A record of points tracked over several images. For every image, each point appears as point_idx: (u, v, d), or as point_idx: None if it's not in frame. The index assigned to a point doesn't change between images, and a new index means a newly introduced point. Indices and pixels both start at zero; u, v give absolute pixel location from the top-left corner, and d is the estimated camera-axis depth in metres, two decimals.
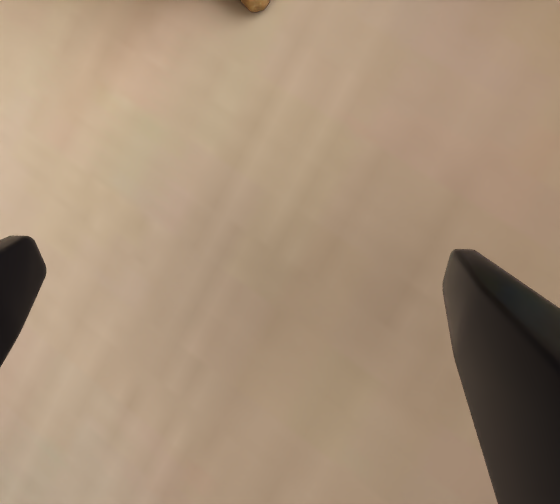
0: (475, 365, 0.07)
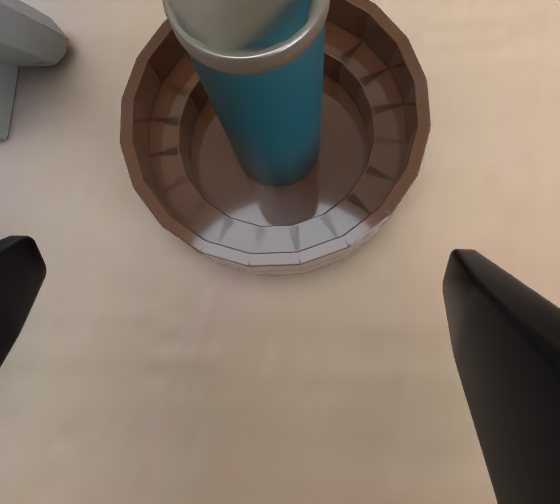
0: (475, 365, 0.07)
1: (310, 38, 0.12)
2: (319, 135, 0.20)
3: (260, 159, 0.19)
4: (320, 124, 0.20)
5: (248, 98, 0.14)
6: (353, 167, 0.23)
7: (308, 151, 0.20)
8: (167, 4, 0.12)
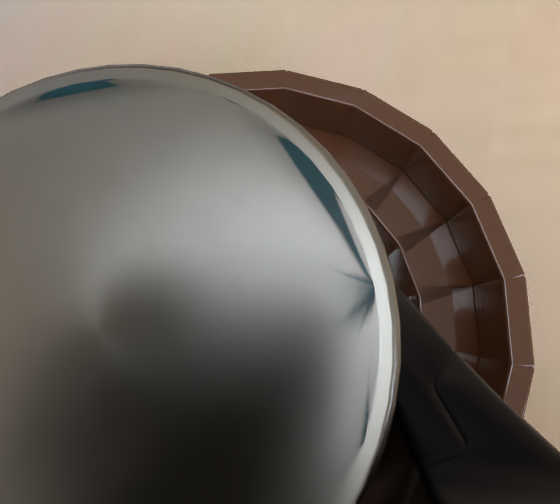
0: None
1: None
2: None
3: None
4: None
5: None
6: None
7: None
8: None
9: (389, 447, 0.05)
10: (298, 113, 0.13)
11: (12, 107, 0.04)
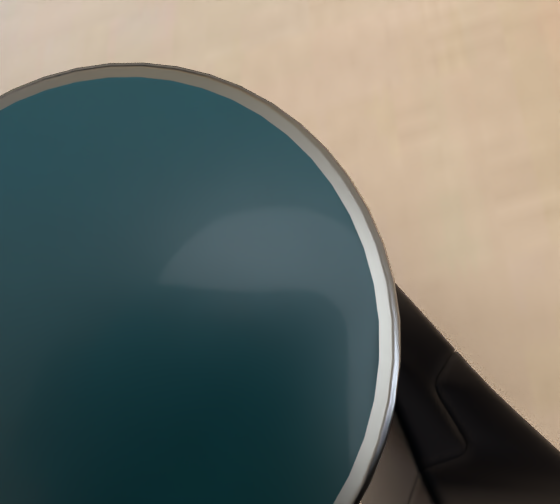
0: None
1: None
2: None
3: None
4: None
5: None
6: None
7: None
8: None
9: (389, 447, 0.05)
10: None
11: (13, 106, 0.04)
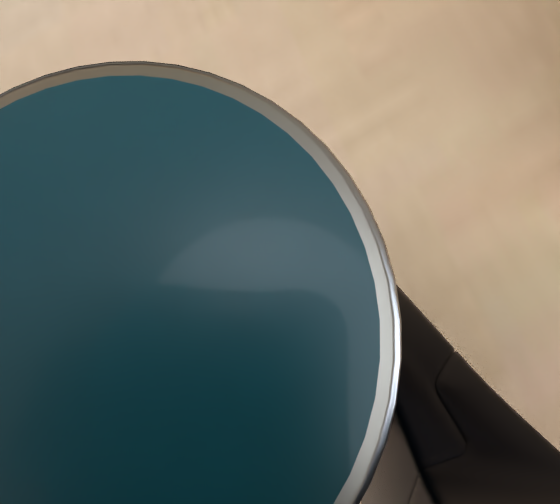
0: None
1: None
2: None
3: None
4: None
5: None
6: None
7: None
8: None
9: (389, 447, 0.05)
10: None
11: (12, 105, 0.04)
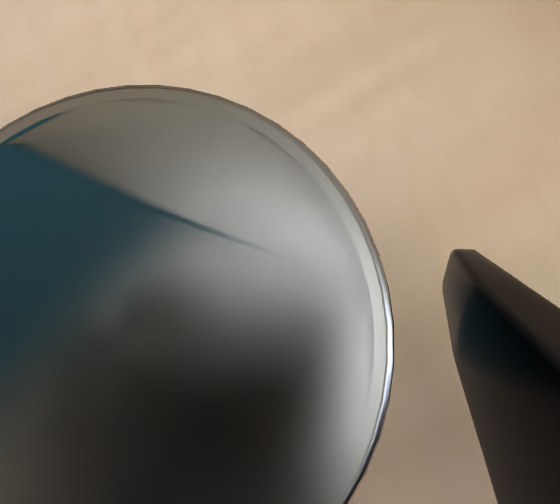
0: (475, 365, 0.07)
1: None
2: None
3: None
4: None
5: None
6: None
7: None
8: None
9: None
10: None
11: (36, 124, 0.04)
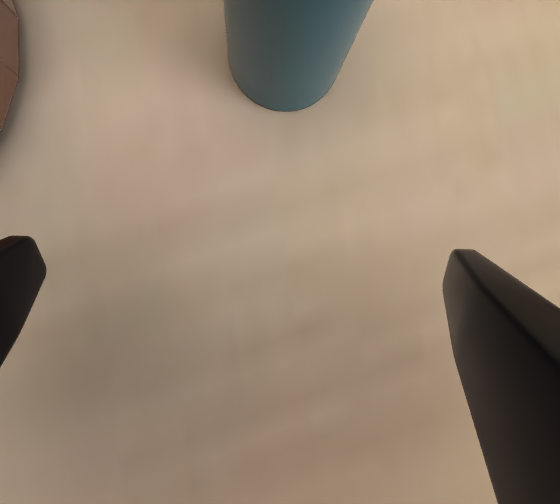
0: (475, 365, 0.07)
1: None
2: (347, 53, 0.15)
3: (266, 62, 0.13)
4: None
5: None
6: None
7: (330, 70, 0.15)
8: None
9: None
10: None
11: None
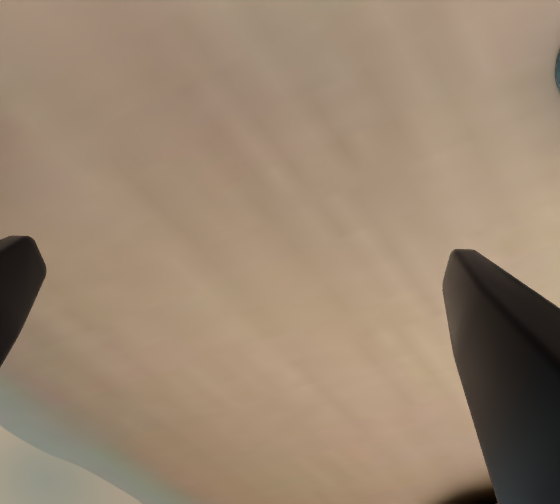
0: (475, 365, 0.07)
1: None
2: None
3: None
4: None
5: None
6: None
7: None
8: None
9: None
10: None
11: None
